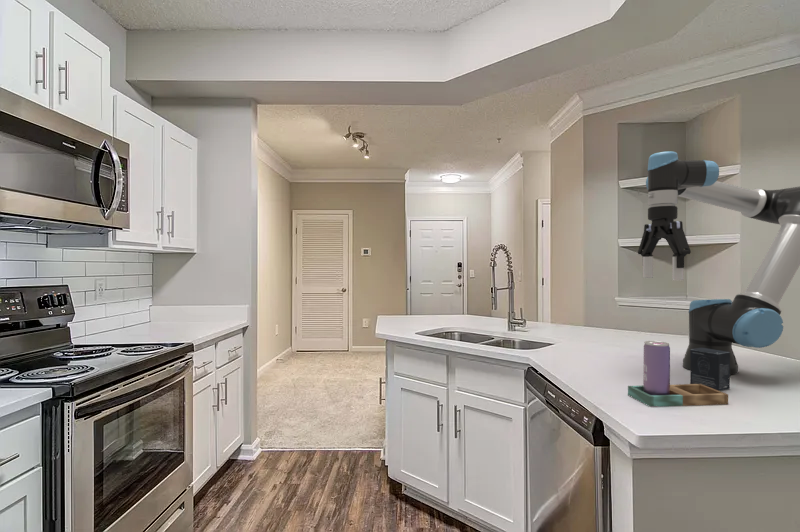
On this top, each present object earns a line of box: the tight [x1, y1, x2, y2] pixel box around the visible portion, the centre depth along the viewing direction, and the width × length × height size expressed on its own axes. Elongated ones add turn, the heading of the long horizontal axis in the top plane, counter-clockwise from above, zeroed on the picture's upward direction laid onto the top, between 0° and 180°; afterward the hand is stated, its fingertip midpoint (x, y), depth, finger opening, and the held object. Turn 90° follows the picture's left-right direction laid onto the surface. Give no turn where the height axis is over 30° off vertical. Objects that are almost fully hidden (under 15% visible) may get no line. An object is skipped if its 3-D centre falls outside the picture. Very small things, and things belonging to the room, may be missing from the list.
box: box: [689, 348, 731, 392], centre depth 130 cm, size 8×6×11 cm
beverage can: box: [642, 340, 671, 395], centre depth 119 cm, size 6×6×15 cm
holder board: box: [627, 383, 729, 407], centre depth 119 cm, size 21×10×2 cm, turn 94°
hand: (662, 279), depth 134 cm, fingers open, 13 cm apart
